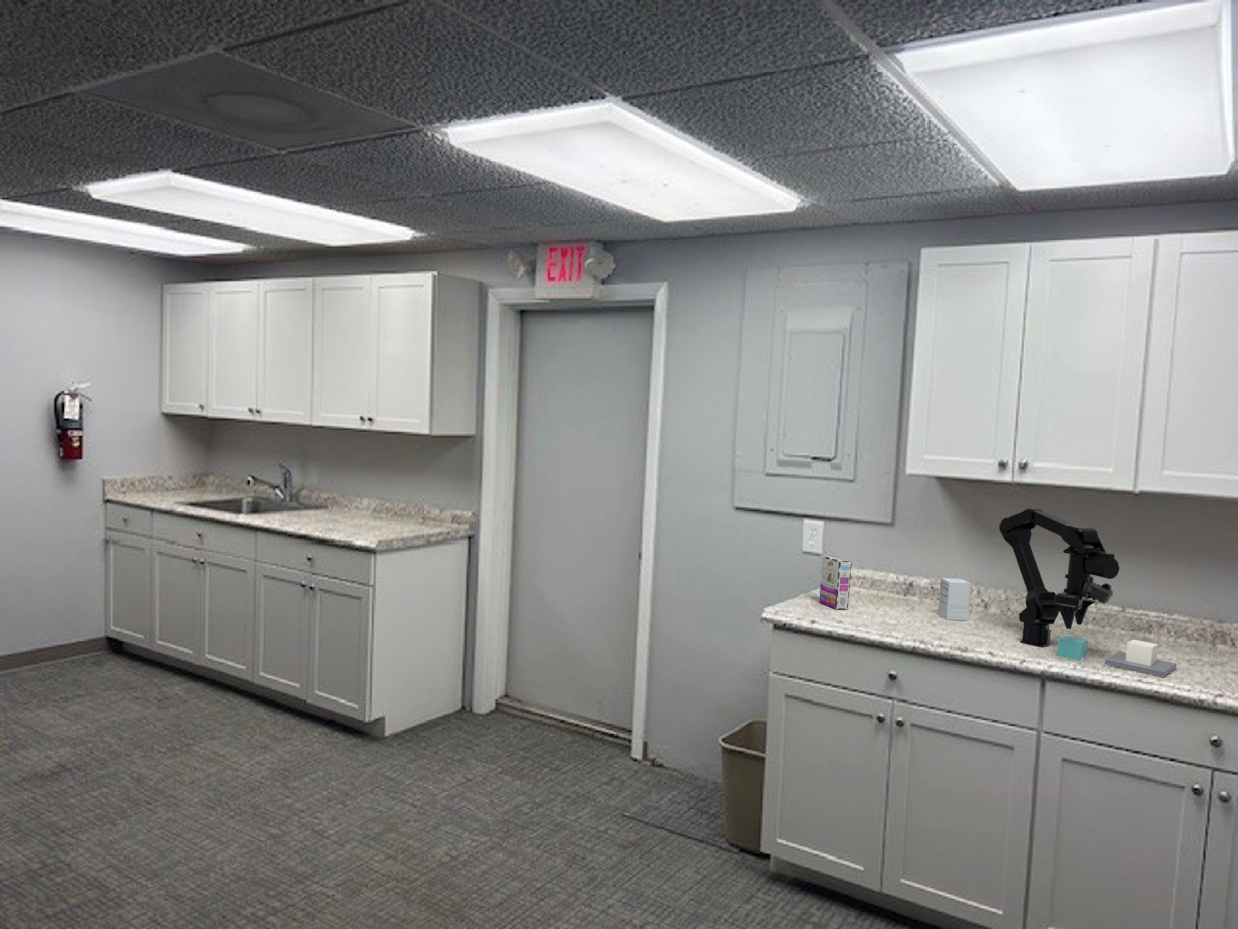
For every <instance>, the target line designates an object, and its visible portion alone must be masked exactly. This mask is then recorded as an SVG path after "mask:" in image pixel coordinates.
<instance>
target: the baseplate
mask: <svg viewBox="0 0 1238 929" xmlns="http://www.w3.org/2000/svg"><path fill="white" fill-rule="evenodd" d="M1105 664H1107V665H1110V666H1109V667H1112V666H1113V667H1112V668H1116V667H1119V668H1118V669H1121V668H1123V669H1122V670H1125V669H1127V670H1126V671H1131V672H1134V671H1137V672H1136V673H1139V672H1141V673H1140V674H1144V673H1145V674H1144V675H1148V674H1152V675H1151V676H1153V675H1154V676H1153V677H1157V676H1158V678H1162V679H1163V678H1165V677H1167V676H1168V675H1169V673H1170V672H1171V673H1172V672H1174V671H1175V670H1177V666H1178V664H1177V663H1175V662H1170V661H1166V660H1163V659H1162V660H1161V659H1157V660H1156V663H1155V664H1153V665H1151V666H1148V665H1143V664H1139V663H1134V662H1129V661H1126V652H1123V651H1119V652H1118V651H1117V653H1114V654H1113V655H1111V656H1109V657H1107V658H1106V659H1105V660H1104V665H1105ZM1107 665H1106V666H1107ZM1171 673H1170V674H1171ZM1167 674H1168V675H1167ZM1166 675H1167V676H1166Z"/></svg>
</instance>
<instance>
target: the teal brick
mask: <svg viewBox="0 0 1238 929" xmlns="http://www.w3.org/2000/svg"><path fill="white" fill-rule="evenodd" d="M1088 641H1089V640H1088V639H1085V638H1079V637H1076V636H1075V637H1074V636H1070V635H1062V636H1061V637H1059V638H1058V642H1057V652H1056V656H1058V657H1062V658H1066V657H1068V658H1067V659H1071V658H1072V660H1076V661H1082V660H1083V659H1082V658H1084V657H1085V658H1087V652H1088V645H1089V644H1088ZM1085 658H1084V659H1085ZM1081 659H1082V660H1081Z"/></svg>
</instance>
